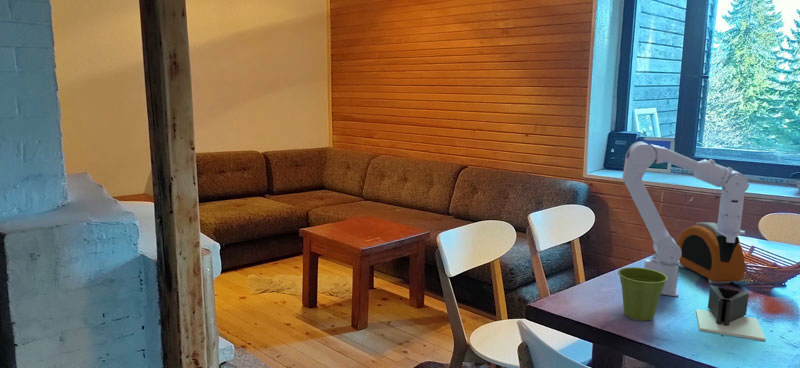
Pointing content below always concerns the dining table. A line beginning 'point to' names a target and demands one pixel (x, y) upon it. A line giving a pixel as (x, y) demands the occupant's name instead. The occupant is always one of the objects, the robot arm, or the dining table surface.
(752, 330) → the mat
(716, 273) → the orange tape measure
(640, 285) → the plant pot
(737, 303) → the phone stand
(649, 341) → the dining table surface
